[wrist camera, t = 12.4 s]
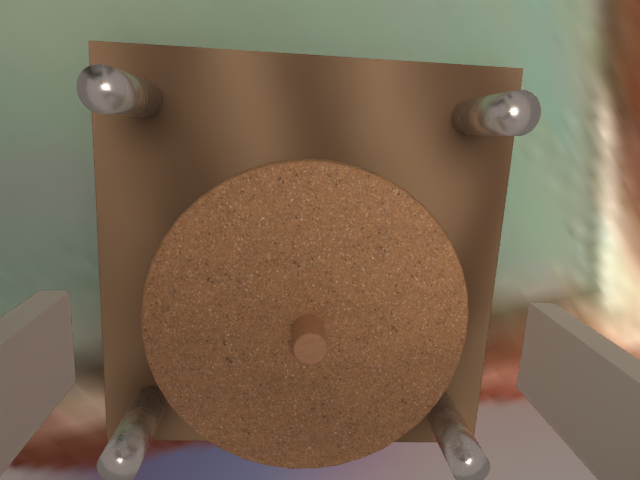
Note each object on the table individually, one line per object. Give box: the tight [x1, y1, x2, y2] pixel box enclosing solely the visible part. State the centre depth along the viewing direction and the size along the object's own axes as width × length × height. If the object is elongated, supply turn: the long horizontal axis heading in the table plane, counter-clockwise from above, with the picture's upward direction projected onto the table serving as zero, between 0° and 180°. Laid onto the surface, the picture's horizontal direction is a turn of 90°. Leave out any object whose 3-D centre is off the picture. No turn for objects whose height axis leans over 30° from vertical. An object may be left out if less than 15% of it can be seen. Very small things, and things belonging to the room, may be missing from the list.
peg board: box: [89, 41, 523, 442], centre depth 24 cm, size 19×19×2 cm
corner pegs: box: [77, 64, 541, 480], centre depth 21 cm, size 16×16×5 cm
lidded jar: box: [140, 158, 469, 469], centre depth 19 cm, size 11×11×9 cm
